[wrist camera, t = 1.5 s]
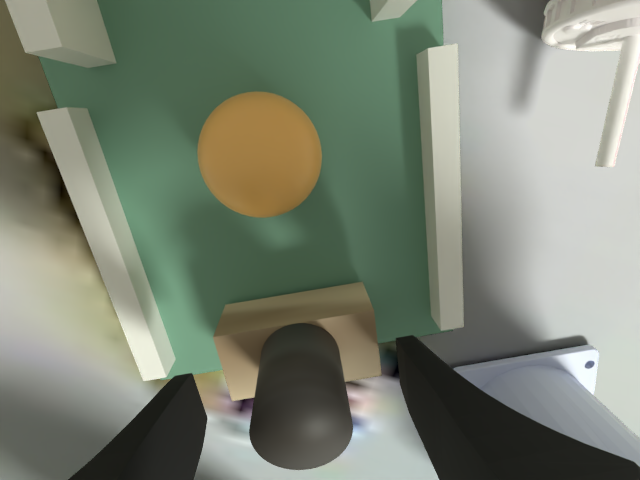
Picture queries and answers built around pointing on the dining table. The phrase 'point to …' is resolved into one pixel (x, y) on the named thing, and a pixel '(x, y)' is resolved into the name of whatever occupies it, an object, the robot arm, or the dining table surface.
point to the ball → (259, 154)
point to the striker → (299, 369)
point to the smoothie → (601, 35)
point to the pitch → (195, 197)
